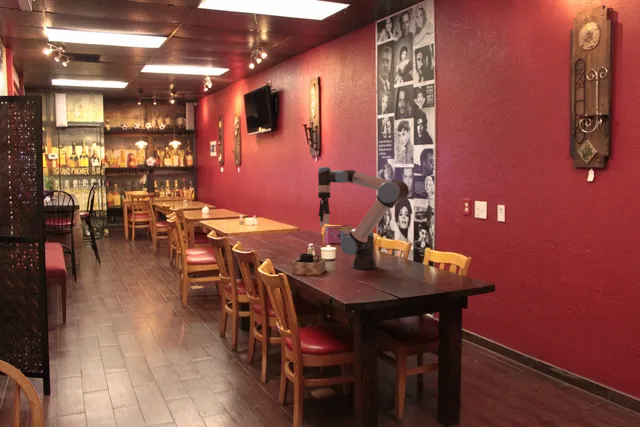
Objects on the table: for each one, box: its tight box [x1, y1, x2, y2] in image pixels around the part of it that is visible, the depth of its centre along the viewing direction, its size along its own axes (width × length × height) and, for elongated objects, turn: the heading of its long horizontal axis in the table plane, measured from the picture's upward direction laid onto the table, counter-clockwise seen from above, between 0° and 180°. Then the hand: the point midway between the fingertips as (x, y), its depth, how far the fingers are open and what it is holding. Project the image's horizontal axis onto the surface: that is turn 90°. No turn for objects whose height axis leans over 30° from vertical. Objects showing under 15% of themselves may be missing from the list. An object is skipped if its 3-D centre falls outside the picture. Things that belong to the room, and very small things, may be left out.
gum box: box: [324, 224, 355, 245], centre depth 483 cm, size 24×8×14 cm, turn 109°
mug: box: [299, 253, 320, 263], centre depth 360 cm, size 8×12×10 cm
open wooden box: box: [291, 257, 327, 276], centre depth 359 cm, size 17×17×7 cm
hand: (324, 225), depth 372 cm, fingers open, 13 cm apart
